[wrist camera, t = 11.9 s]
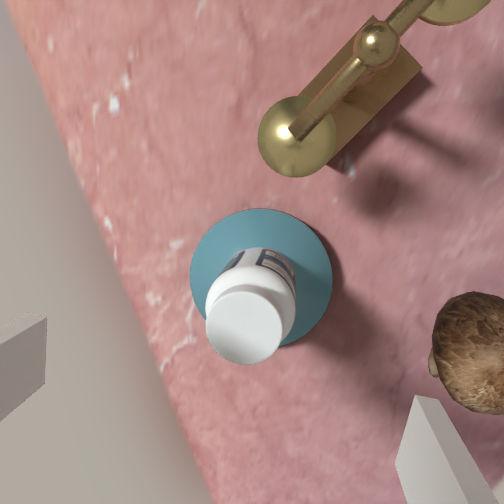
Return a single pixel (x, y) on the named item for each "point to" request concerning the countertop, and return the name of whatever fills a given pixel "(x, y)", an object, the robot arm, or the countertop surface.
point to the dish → (278, 239)
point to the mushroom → (471, 351)
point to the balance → (350, 88)
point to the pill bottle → (251, 306)
